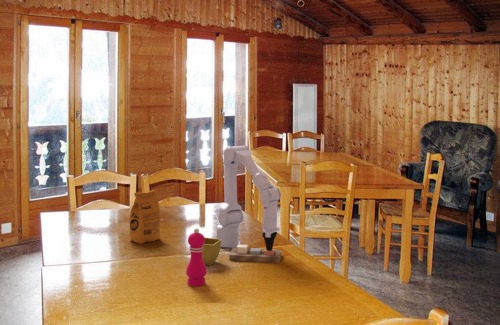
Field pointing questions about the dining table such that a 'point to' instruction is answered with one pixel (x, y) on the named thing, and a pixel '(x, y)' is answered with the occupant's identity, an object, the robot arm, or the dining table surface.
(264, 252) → the brick key
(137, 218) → the coffee package
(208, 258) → the flower pot
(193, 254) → the pepper mill
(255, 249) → the slate key
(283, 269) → the dining table surface
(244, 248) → the ivory key
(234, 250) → the walnut bezel
